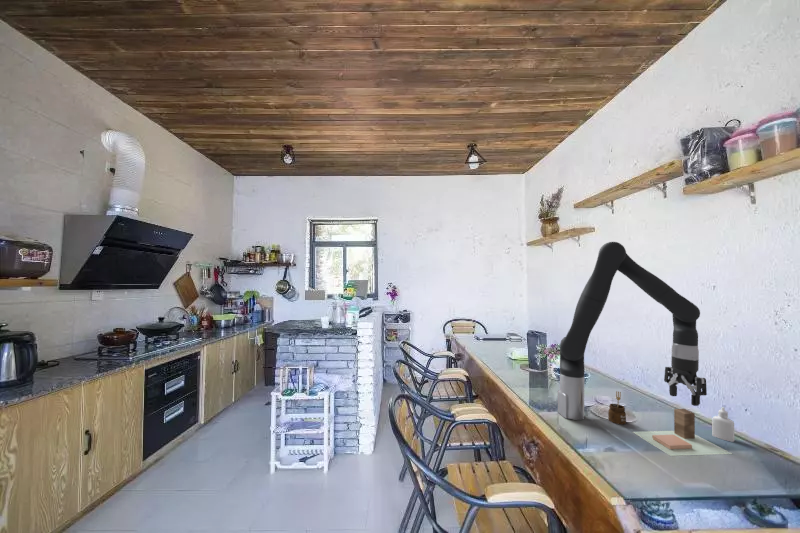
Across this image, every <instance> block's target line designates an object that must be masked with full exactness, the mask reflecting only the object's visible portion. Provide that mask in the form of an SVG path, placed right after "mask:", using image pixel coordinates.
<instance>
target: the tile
mask: <svg viewBox="0 0 800 533" xmlns="http://www.w3.org/2000/svg"><path fill="white" fill-rule="evenodd" d="M652 438H653V439H654V440H655V441H657V442H659V443H660V444H662V445H664V446H665V447H667V448H669V449H692V445H691V444H689V443H688V442H686V441H684V440H682V439H680V438H679V437H677V436H675V435H652Z"/></svg>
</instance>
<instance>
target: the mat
mask: <svg viewBox="0 0 800 533" xmlns="http://www.w3.org/2000/svg"><path fill="white" fill-rule="evenodd" d="M632 433H633V434H634V435H636V436H638V437H640V438H641V439H642V440H644V441H645V442H647V443H649V444H650V445H651V446H654V447H655V448H657V449H658V450H660V451H661V452H663V453H665V455H668V456H669V457H683V456H685V457H686V456H712V455H713V456H714V455H715V456H716V455H718V456H719V455H733V453H732V452H730V451H728V450H726V449H724V448H722V447H720V446H719V445H716V444H714V443H713V442H711V441H708V440H707V439H705V438H703V437H700V436H699V435H696V434H695V439H684V438H682V437H680V436H678V435H676V434H675V433H674V430H655V431H654V430H651V431H650V430H649V431H632ZM652 435H675V436H677V437H679V438H680V439H682V440H684V441H686V442H688V443H689V444H691V445H692V449H669V448H667V447H665V446H664V445H662V444H660V443H659V442H657V441H655V440H654V439H653V438H652Z"/></svg>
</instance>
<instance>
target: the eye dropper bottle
mask: <svg viewBox="0 0 800 533" xmlns="http://www.w3.org/2000/svg"><path fill="white" fill-rule="evenodd" d="M711 423H712V426H711V427H712V429H711V430H712V431H711V432H712V433H711V435H712V437H714V438H717V439H719V440H724V441H727V442H730V443H733V442H735V422H734V421H733V420H731V419H730V418H729V412H728V411H727V410H726V409H725V407H724V406H722V407H721V408H720V409H718V414H717V415H714V416H713V417H712V419H711Z"/></svg>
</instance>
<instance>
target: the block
mask: <svg viewBox="0 0 800 533" xmlns="http://www.w3.org/2000/svg"><path fill="white" fill-rule="evenodd" d="M673 410H674V412H673V413H674V414H673V417H674V419H673V422H674V424H673V426H674V428H673V429H674V430H673V431H674V433H675V434H676V435H678V436H680V437H682V438H684V439H695V435H696V433H695V432H696V428H695V427H696V426H695V424H696V421H695V420H696V418H695V417H696V416H695V413H694V412H693V411H690V410H689V409H685V408H674V409H673Z"/></svg>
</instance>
